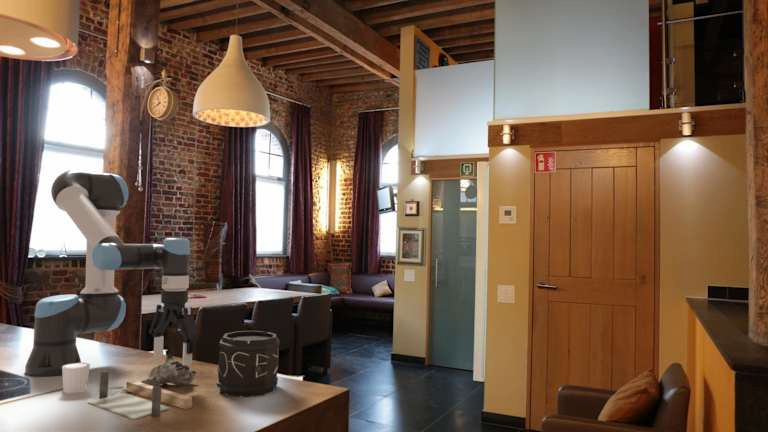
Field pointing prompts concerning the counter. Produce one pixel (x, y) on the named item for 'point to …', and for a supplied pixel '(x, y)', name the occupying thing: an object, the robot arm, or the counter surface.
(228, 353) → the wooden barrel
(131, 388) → the grey tray with pegs
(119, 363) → the counter surface
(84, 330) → the robot arm
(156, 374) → the decorative stone
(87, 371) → the shot glass
